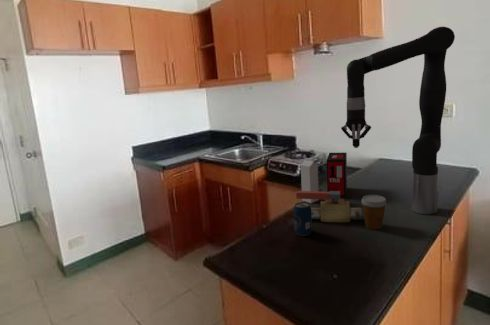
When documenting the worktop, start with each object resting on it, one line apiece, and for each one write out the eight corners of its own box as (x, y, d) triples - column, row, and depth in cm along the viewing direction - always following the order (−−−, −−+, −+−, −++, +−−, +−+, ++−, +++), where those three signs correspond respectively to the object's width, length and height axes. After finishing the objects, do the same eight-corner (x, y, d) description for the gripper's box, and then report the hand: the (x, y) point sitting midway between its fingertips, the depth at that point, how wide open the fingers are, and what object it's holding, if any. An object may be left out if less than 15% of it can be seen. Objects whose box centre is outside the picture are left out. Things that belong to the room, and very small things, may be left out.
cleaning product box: (330, 187, 187) (329, 152, 182) (346, 188, 184) (346, 152, 179) (327, 197, 172) (326, 159, 167) (345, 198, 169) (345, 159, 164)
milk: (310, 203, 166) (309, 160, 161) (301, 200, 171) (300, 158, 165) (319, 200, 169) (317, 157, 164) (310, 197, 174) (308, 156, 169)
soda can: (291, 231, 137) (290, 204, 134) (305, 227, 140) (304, 200, 137) (300, 238, 131) (299, 209, 128) (315, 233, 134) (314, 205, 131)
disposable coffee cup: (385, 222, 139) (386, 194, 136) (386, 232, 130) (387, 203, 127) (361, 220, 142) (361, 194, 139) (361, 230, 133) (361, 202, 130)
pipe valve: (360, 215, 147) (360, 195, 144) (362, 222, 140) (362, 201, 138) (302, 215, 152) (301, 195, 150) (302, 221, 145) (301, 201, 143)
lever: (340, 197, 145) (340, 191, 144) (339, 200, 141) (339, 194, 140) (297, 196, 151) (297, 190, 150) (296, 199, 147) (295, 193, 146)
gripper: (370, 106, 146) (370, 145, 150) (339, 108, 149) (340, 146, 153) (373, 107, 139) (373, 148, 143) (340, 109, 142) (341, 149, 146)
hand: (356, 147), depth 148 cm, fingers closed
